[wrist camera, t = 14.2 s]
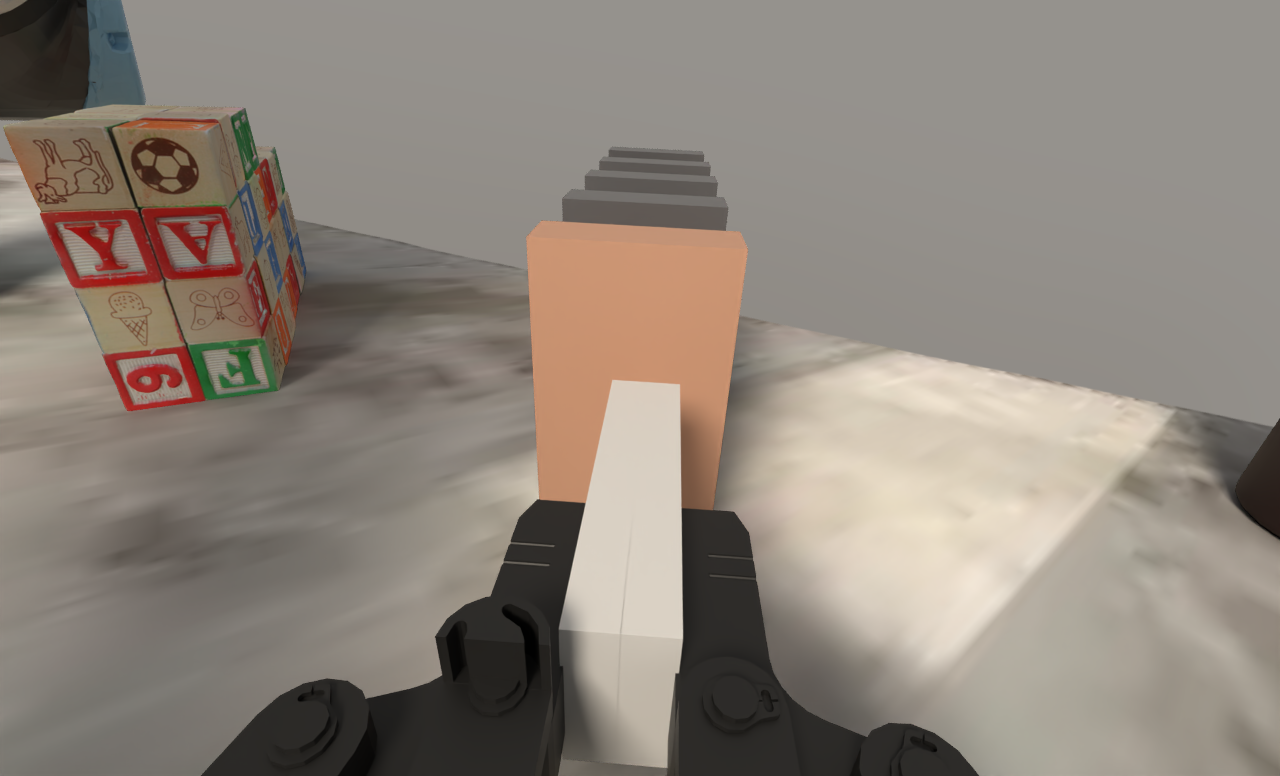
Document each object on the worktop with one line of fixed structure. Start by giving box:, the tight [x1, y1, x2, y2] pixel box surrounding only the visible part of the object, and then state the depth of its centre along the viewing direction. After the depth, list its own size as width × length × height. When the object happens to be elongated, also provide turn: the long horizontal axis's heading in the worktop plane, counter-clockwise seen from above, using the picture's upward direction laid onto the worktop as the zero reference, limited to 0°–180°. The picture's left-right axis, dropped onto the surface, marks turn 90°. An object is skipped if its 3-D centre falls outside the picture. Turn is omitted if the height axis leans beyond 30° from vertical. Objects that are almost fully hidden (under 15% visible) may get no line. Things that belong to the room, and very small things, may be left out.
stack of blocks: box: [3, 104, 306, 411], centre depth 33 cm, size 21×6×12 cm, turn 24°
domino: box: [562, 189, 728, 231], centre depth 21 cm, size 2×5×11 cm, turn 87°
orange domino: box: [526, 221, 748, 510], centre depth 17 cm, size 2×5×11 cm, turn 87°
